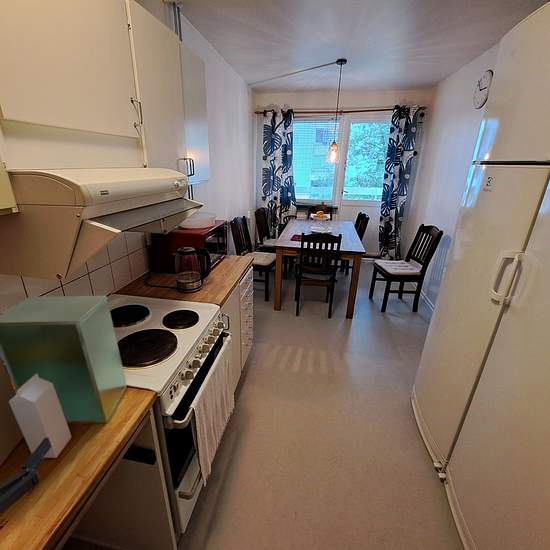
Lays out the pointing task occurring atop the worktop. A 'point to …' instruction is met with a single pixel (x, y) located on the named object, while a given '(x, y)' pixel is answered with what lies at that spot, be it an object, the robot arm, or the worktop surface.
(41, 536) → the worktop surface
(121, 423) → the worktop surface
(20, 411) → the milk
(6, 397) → the fridge door
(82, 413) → the fridge
